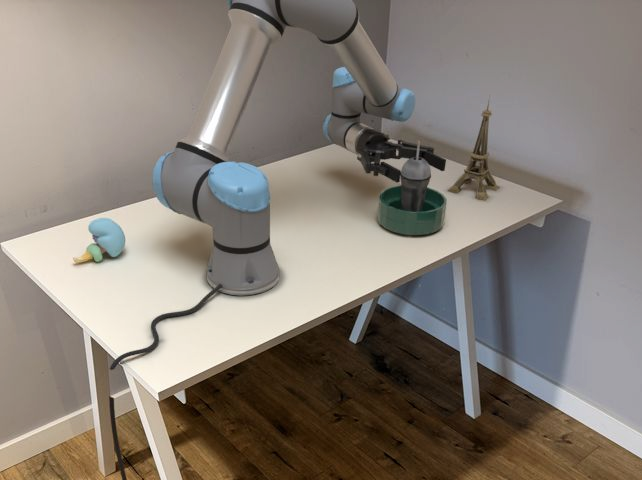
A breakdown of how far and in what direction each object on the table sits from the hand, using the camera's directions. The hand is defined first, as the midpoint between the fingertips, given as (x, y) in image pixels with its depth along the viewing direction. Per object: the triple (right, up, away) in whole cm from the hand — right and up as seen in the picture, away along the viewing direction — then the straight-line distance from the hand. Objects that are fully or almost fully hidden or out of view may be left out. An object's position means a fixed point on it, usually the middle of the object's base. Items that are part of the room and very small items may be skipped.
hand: (422, 171), depth 156 cm
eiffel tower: (+19, +2, +27) cm, 33 cm away
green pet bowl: (-1, -10, +10) cm, 14 cm away
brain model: (-72, -21, -7) cm, 76 cm away
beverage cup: (-1, -10, +10) cm, 14 cm away
